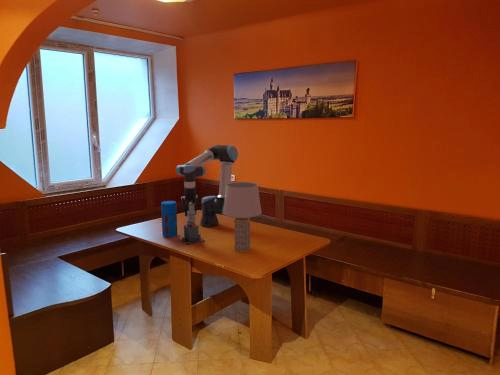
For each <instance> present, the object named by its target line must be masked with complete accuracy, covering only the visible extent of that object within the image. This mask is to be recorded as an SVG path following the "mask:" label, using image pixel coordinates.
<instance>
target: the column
mask: <svg viewBox="0 0 500 375" xmlns="http://www.w3.org/2000/svg"><path fill="white" fill-rule="evenodd" d="M185 205H186V202H185ZM194 205H196V202H195V203H192V201H190V202H189V204H188V212H189V221H187V220H186V225H187V226H188V227H191V224H196V220H195V219H196V215H195V211H194Z"/></svg>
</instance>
